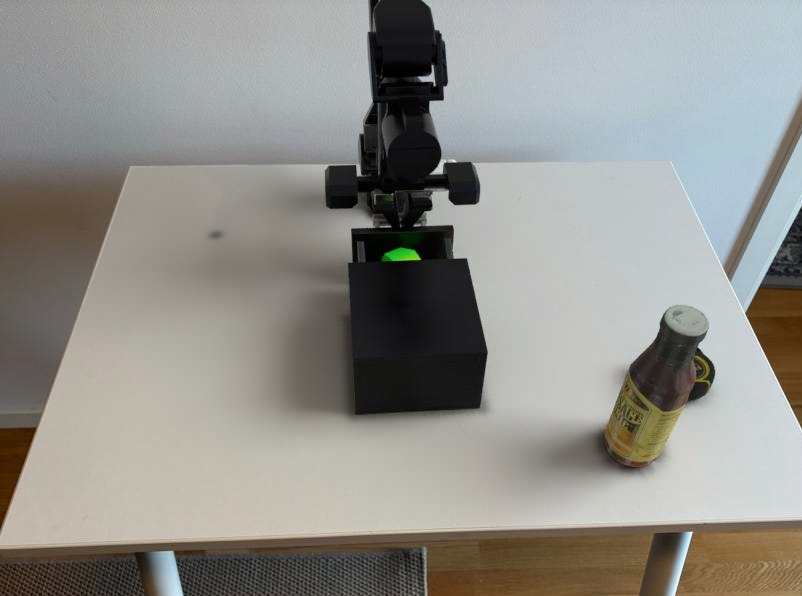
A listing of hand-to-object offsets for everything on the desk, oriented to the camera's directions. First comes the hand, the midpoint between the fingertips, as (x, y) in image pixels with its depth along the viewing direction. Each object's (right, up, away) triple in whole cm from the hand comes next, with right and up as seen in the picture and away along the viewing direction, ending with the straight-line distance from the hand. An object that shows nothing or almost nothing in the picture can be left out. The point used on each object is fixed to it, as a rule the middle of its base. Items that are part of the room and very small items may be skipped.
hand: (400, 240), depth 97 cm
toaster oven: (+1, -16, -9) cm, 18 cm away
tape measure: (+32, -18, -10) cm, 38 cm away
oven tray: (0, -7, -2) cm, 8 cm away
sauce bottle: (+25, -25, -17) cm, 40 cm away
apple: (+1, -8, -4) cm, 9 cm away
